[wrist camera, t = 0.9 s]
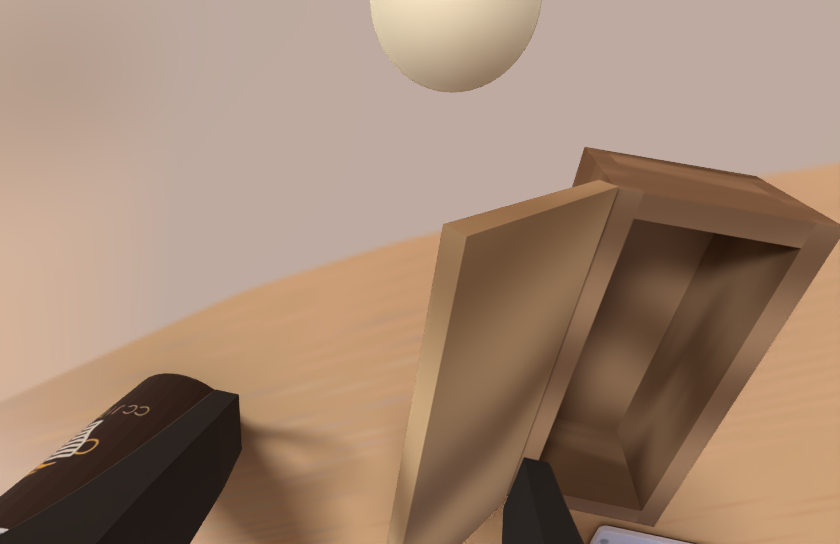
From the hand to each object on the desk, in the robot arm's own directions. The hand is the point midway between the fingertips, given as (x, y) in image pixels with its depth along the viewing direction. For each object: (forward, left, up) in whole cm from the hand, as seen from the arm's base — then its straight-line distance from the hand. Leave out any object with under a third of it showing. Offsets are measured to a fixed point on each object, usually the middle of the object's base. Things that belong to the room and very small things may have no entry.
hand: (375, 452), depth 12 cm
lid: (-1, -3, -3) cm, 4 cm away
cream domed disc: (+10, 0, -11) cm, 15 cm away
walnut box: (-1, -8, -11) cm, 13 cm away
